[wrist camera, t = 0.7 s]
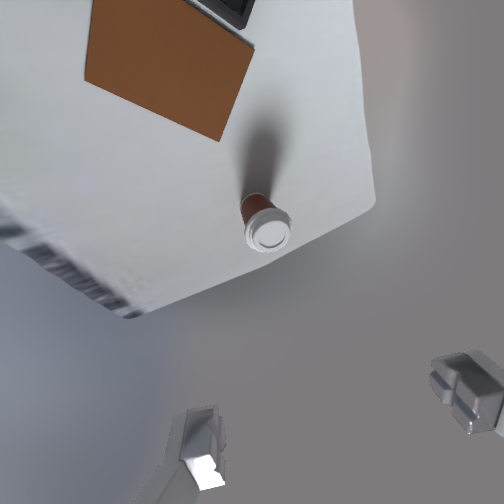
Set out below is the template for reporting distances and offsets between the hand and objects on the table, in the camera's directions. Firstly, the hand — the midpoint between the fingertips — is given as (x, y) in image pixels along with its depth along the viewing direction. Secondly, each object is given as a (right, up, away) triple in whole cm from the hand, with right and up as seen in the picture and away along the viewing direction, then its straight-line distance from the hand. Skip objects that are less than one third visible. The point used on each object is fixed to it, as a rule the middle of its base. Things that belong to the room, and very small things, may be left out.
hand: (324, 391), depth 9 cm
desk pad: (-14, +32, +26) cm, 44 cm away
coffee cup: (-2, +15, +44) cm, 46 cm away
